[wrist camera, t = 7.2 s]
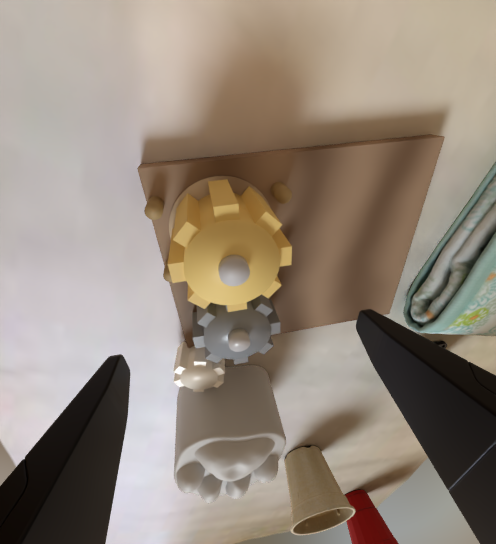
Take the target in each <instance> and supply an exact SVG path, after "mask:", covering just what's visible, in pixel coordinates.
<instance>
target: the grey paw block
mask: <svg viewBox="0 0 496 544" xmlns="http://www.w3.org/2000/svg"><path fill="white" fill-rule="evenodd" d="M285 444H286V437H285V434H284V431H283V427H282V423H281V419H280V416H279V412H278V409H277V405H276V401H275V398H274V394H273V391H272V387H271V383H270V380H269V376H268V373H267V372H266V370H265V369H264V368H262V367H260V366H257V365H245V366H236V367H225V374H224V383H223V384H221V385H220V386H219V387H218V388H216V387H214V386H212V387H211V388H208V389H204V392H193V389H190V388H187V387H185V386H182V387H180V389H179V393H178V398H177V417H176V441H175V464H174V478H175V482H176V483H177V486H178V488H179V489H180V490H181V491H182V492H184V493H191V494H194V495H199V496H201V498H202V499H203V500H204V501H205V502H206V503H212V502H214V501H216V499H217V498H218V496H222V495H226V494H227V495H228V496H229V497H231V498H233V499H238V498H241V497H242V496H243V495H244V494H245V493H246V491H247V489H248V487H249V486H251V485H252V484H254V483H256V482H257V481H260V482H262V483H269V482H271V481H273V480H274V479H275V477H276V475H277V472H278V461H279V459H280V457H281V455H282V452H283V450H284V447H285Z"/></svg>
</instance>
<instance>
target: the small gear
mask: <svg viewBox="0 0 496 544" xmlns="http://www.w3.org/2000/svg"><path fill="white" fill-rule="evenodd" d="M174 373H175V377H174V382H175V383H176V384H177V385H178V386H179V387H182V386H185V387H187V388H190V389H193V392H204V389H208V388H211V387H212V386H214V387H216V388H218V387H219V386H220V385H221V384H223V383H224V374H225V359H224V358H222V359H221V360H220V361H219V362H218V363H215V362H212V361H210V360H207V359H205V347H202V348H196V349H195V346H193V347H191V348H188V347H187V343H186V342H182V344H181V345H180V346H179V347H178V350H177V355H176V361H175V366H174Z"/></svg>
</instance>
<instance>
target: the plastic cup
mask: <svg viewBox="0 0 496 544" xmlns="http://www.w3.org/2000/svg"><path fill="white" fill-rule="evenodd" d="M345 496H346V498H347V500H348V502H349V504H350V505H351V506H353V507H354V508H355V511H356V512H355V514H354V515H353V516H352V517H351V518H350V519H349V520H347V525H348V529H349V532H350V537H351V541H352V544H398V542H397V540H396V539H395V538H394V537H393V535H392V533H391V532H390V530H389V528H388V527H387V525H386V524H385V522H384V520H383V518H382V517H381V515H380V514H379V512H378V510H377V509H376V508H375V506H374V504H373V503H372V501H371V499H370V498H369V496H368V494H367V493H366V492H365V490H356V491H352V492H350V493H348V494H346V495H345Z"/></svg>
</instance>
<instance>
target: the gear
mask: <svg viewBox="0 0 496 544" xmlns="http://www.w3.org/2000/svg"><path fill="white" fill-rule="evenodd" d="M196 306H197V305H196ZM192 326H193V341H194V345H195V349H196V348H202V347H205V359H207V360H210V361H212V362H215V363H218V362H219V361H220V360H221V359H222V358H224V359H233V360H234V365H235V364H240V363H245V362H248V356H250V355H253V354H255V353H256V352H259V353H262V354H265V353H266V352H267V351H268V350H269V349H271V348H272V347H273V343H272V340H271V337H270V336H271V335H273V334H278V333H280V320H279V318H278V315H277V313H276V310H275V308H274V305H273V303H272V300H269V298H267V297H265V296H263V295H262V294H261V295H260V296H258V297H257V298H255V299H253V300H251V301H248V302H247V309H244V310H238V311H232V312H228V309H227V305H219V304H214V303H210V304H209V305H208V306H207V307H206V308H205V309H203V308H201V307H199V306H197V312H193V313H192Z"/></svg>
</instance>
